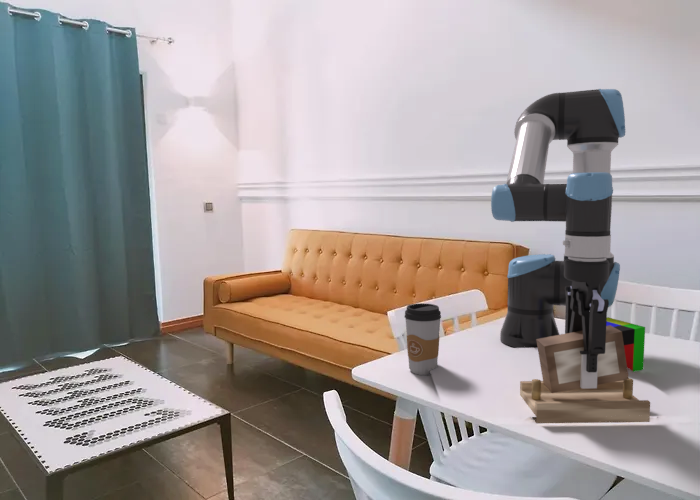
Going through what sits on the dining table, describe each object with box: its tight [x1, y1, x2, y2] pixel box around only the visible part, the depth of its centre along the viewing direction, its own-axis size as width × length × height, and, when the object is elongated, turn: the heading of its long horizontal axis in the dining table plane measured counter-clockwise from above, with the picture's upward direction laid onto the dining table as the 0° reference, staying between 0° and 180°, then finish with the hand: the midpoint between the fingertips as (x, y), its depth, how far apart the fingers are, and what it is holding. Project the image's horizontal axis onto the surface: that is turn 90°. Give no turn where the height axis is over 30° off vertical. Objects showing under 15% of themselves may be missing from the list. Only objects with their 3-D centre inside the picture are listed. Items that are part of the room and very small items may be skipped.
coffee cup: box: [404, 302, 442, 376], centre depth 123 cm, size 8×8×15 cm
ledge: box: [519, 377, 651, 424], centre depth 101 cm, size 10×20×6 cm, turn 89°
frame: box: [536, 325, 630, 393], centre depth 100 cm, size 14×5×9 cm, turn 89°
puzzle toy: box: [606, 316, 646, 373], centre depth 124 cm, size 10×10×10 cm
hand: (582, 382), depth 100 cm, fingers closed on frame, 5 cm apart
